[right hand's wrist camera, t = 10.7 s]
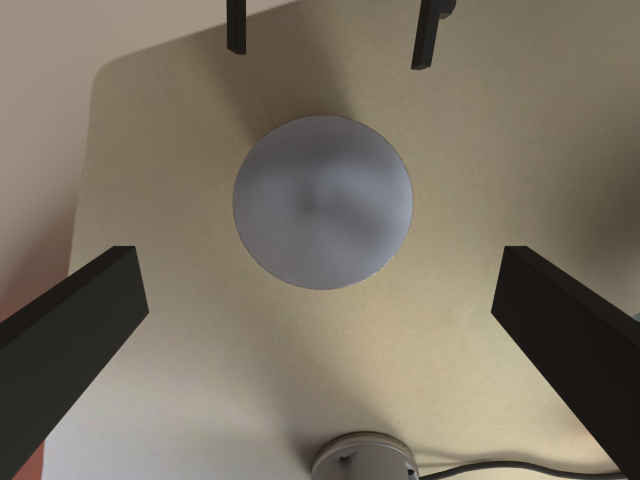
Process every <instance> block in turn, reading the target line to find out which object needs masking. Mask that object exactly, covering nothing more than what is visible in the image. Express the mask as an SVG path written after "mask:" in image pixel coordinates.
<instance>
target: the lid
mask: <svg viewBox="0 0 640 480" xmlns="http://www.w3.org/2000/svg"><path fill="white" fill-rule="evenodd" d="M233 213H234V220H235V224H236V228H237V231H238V233H239V236H240V238H241V240H242V242H243V244H244V246H245V247H246V249H247V251H248V252H249V253H250V255H251V256H252V257H253V258H254V260H255V261H256V262H257V263H258V264H259V265H260V266H261V267H263V268H264V269H265V270H266V271H267V272H269V273H270V274H272V275H273V276H275V277H277V278H278V279H280V280H282V281H284V282H286V283H289V284H292V285H295V286H298V287H302V288H307V289H316V290H331V289H338V288H343V287H347V286H351V285H354V284H356V283H359V282H361V281H363V280H365V279H367V278H369V277H371V276H372V275H374V274H375V273H377V272H378V271H379V270H381V269H382V268H383V267H384V266H385V265H386V264H387V263H388V262H389V261H390V260H391V259H392V258H393V257H394V256H395V254H396V253H397V251H398V250H399V248H400V247H401V245H402V243H403V241H404V239H405V237H406V235H407V232H408V230H409V227H410V223H411V219H412V213H413V191H412V186H411V181H410V178H409V175H408V172H407V169H406V167H405V165H404V163H403V161H402V159H401V158H400V156H399V155H398V153H397V152H396V150H395V149H394V148H393V147H392V146H391V145H390V143H389V142H388V141H387V140H386V139H385V138H383V137H382V136H381V135H380V134H378V133H377V132H376V131H374V130H373V129H371V128H369V127H368V126H366V125H364V124H361V123H359V122H357V121H354V120H352V119H349V118H345V117H341V116H335V115H311V116H304V117H301V118H297V119H294V120H291V121H289V122H287V123H285V124H283V125H281V126H279V127H277V128H275V129H274V130H272V131H271V132H269V133H268V134H267V135H265V136H264V137H263V138H262V139H261V140H260V141H259V142H258V143H257V144H256V145H255V146H254V147H253V148H252V149H251V151H250V152H249V153H248V155H247V157H246V158H245V160H244V161H243V163H242V165H241V168H240V170H239V172H238V175H237V178H236V181H235V186H234V192H233Z"/></svg>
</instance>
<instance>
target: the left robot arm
mask: <svg viewBox="0 0 640 480" xmlns="http://www.w3.org/2000/svg"><path fill="white" fill-rule="evenodd" d="M455 5H456V0H422V1H421V7H420V14H419V20H418V27H417V33H416V39H415V46H414V52H413V59H412V65H411V69H414V70H422V69H425V68H427V67H430V66H431V62H432V56H433V50H434V45H435V39H436V33H437V27H438V22H439V19H445V18H446V17H448V16H449V15H451V13H452V11H453V10H454V8H455ZM227 49H229V50H231V51H232V52H234V53H235V54H242V55H246V0H227ZM631 318H633V319H635V320H637V321H639V322H640V313H638V314H636V315H634V316H632V317H631Z"/></svg>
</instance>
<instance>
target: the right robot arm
mask: <svg viewBox="0 0 640 480" xmlns="http://www.w3.org/2000/svg"><path fill="white" fill-rule="evenodd" d="M148 313H149V309H148V305H147V300H146V295H145V290H144V286H143V281H142V276H141V271H140V267H139V262H138V257H137V253H136V248H135V246H113V247H111V248H110V249H108V250H107V251H105V252H104V253H103V254H101V255H100V256H98V257H97V258H95V259H94V260H92V261H91V262H89V263H88V264H86V265H85V266H83V267H82V268H80V269H79V270H78V271H76V272H75V273H73V274H72V275H70V276H69V277H67V278H66V279H64V280H63V281H61V282H60V283H58V284H57V285H56V286H54V287H53V288H51V289H50V290H48V291H47V292H45V293H44V294H42V295H41V296H39V297H38V298H36V299H35V300H34V301H32V302H31V303H29V304H28V305H26V306H25V307H23V308H22V309H20V310H19V311H17V312H16V313H14V314H13V315H12V316H10V317H9V318H7V319H6V320H4V321H3V322H1V323H0V480H12V478H13V477H14V476H15V475H16V474H17V472H18V471H19V470H20V469H21V467H22V466H23V465H24V464H25V463H26V461H27V460H28V459H29V458H30V457H31V455H32V454H33V453H34V452H35V450H36V449H37V448H38V447H39V446H40V444H41V443H42V442H43V441H44V440H45V438H46V437H47V436H48V435H49V434H50V432H51V431H52V430H53V429H54V427H55V426H56V425H57V424H58V423H59V421H60V420H61V419H62V418H63V417H64V415H65V414H66V413H67V412H68V410H69V409H70V408H71V407H72V406H73V404H74V403H75V402H76V401H77V400H78V398H79V397H80V396H81V395H82V393H83V392H84V391H85V390H86V389H87V387H88V386H89V385H90V384H91V383H92V381H93V380H94V379H95V378H96V377H97V375H98V374H99V373H100V372H101V370H102V369H103V368H104V367H105V366H106V364H107V363H108V362H109V361H110V360H111V358H112V357H113V356H114V355H115V353H116V352H117V351H118V350H119V349H120V347H121V346H122V345H123V344H124V343H125V341H126V340H127V339H128V338H129V336H130V335H131V334H132V333H133V332H134V330H135V329H136V328H137V327H138V326H139V324H140V323H141V322H142V321H143V319H144V318H145V317H146V316H147V315H148ZM491 313H492V315H493V316H494V317H495V318H496V319H497V321H498V322H499V323H500V324H501V326H502V327H503V328H504V329H505V330H506V332H507V333H508V334H509V335H510V336H511V338H512V339H513V340H514V341H515V343H516V344H517V345H518V346H519V347H520V349H521V350H522V351H523V352H524V353H525V355H526V356H527V357H528V358H529V360H530V361H531V362H532V363H533V364H534V366H535V367H536V368H537V369H538V370H539V372H540V373H541V374H542V375H543V377H544V378H545V379H546V380H547V381H548V383H549V384H550V385H551V386H552V387H553V389H554V390H555V391H556V392H557V393H558V395H559V396H560V397H561V398H562V400H563V401H564V402H565V403H566V404H567V406H568V407H569V408H570V409H571V410H572V412H573V413H574V414H575V415H576V417H577V418H578V419H579V420H580V421H581V423H582V424H583V425H584V426H585V427H586V429H587V430H588V431H589V432H590V434H591V435H592V436H593V437H594V438H595V440H596V441H597V442H598V443H599V444H600V446H601V447H602V448H603V449H604V451H605V452H606V453H607V454H608V455H609V457H610V458H611V459H612V460H613V461H614V463H615V464H616V465H617V466H618V467H619V469H620V470H621V471H622V472H618V473H605V474H584V473H573V472H565V471H558V470H553V469H549V468H546V467H542V466H539V465H535V464H531V463H526V462H518V461H491V462H481V463H474V464H468V465H463V466H459V467H455V468H452V469H449V470H446V471H442V472H438V473H434V474H430V475H426V476H422V477H419V473H418V469H417V465H416V462H415V458H414V456H413V454H412V452H411V451H410V450H409V449H408V448H407V446H405V445H404V444H403V443H401V442H400V441H398V440H397V439H394V438H392V437H390V436H387V435H383V434H378V433H355V434H350V435H346V436H343V437H340V438H338V439H335V440H333V441H332V442H330V443H328V444H327V445H326V446H324V447H323V448H322V449H321V450H320V451H319V453H318V454H317V455H316V457H315V459H314V461H313V465H312V480H439V479H443V478H446V477H450V476H453V475H456V474H459V473H462V472H467V471H472V470H479V469H487V468H500V467H511V468H524V469H530V470H534V471H538V472H541V473H544V474H548V475H552V476H556V477H562V478H570V479H580V480H616V479H626V478H628V480H640V322H639V321H637V320H635V319H633V318H631V317H630V316H629V315H627V314H626V313H624V312H623V311H621V310H620V309H618V308H617V307H615V306H614V305H612V304H611V303H609V302H608V301H607V300H605V299H604V298H602V297H601V296H599V295H598V294H596V293H595V292H593V291H592V290H590V289H589V288H587V287H586V286H584V285H583V284H582V283H580V282H579V281H577V280H576V279H574V278H573V277H571V276H570V275H568V274H567V273H565V272H564V271H562V270H561V269H560V268H558V267H557V266H555V265H554V264H552V263H551V262H549V261H548V260H546V259H545V258H543V257H542V256H540V255H539V254H537V253H536V252H535V251H533V250H532V249H530V248H529V247H527V246H505V248H504V253H503V257H502V262H501V267H500V271H499V276H498V281H497V286H496V290H495V295H494V300H493V305H492V309H491Z"/></svg>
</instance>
